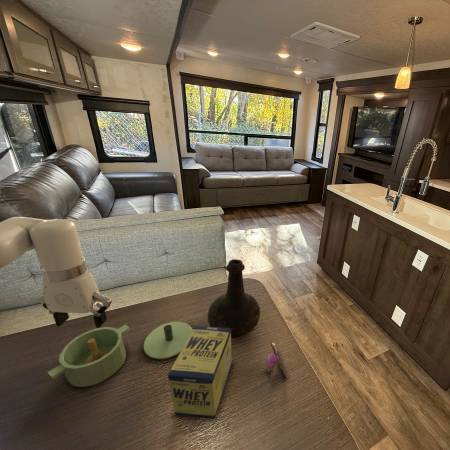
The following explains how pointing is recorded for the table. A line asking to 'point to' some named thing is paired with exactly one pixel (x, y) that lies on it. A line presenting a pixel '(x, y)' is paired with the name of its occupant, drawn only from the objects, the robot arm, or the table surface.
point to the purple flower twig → (274, 360)
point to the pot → (79, 352)
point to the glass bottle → (235, 305)
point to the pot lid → (167, 340)
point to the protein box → (201, 372)
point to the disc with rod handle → (94, 352)
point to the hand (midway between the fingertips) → (82, 323)
